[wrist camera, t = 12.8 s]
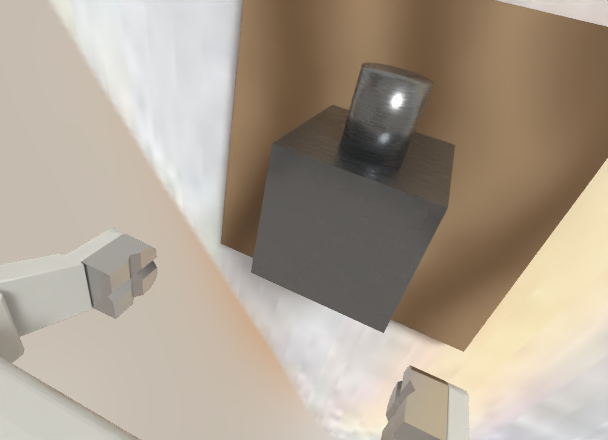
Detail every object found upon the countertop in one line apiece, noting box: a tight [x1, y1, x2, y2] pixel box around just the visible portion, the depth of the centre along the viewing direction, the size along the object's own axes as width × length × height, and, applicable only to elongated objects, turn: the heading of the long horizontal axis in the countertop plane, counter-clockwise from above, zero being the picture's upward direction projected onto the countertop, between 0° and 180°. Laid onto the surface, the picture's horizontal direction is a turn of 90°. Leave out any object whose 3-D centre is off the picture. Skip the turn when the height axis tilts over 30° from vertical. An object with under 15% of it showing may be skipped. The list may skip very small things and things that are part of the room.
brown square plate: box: [221, 0, 608, 352], centre depth 18 cm, size 18×18×6 cm
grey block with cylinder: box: [251, 62, 455, 333], centre depth 16 cm, size 6×9×7 cm
